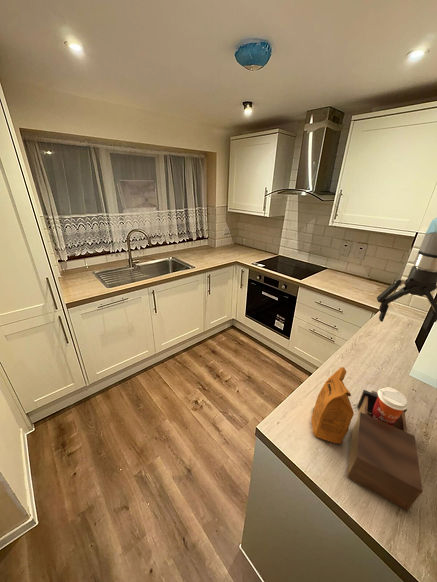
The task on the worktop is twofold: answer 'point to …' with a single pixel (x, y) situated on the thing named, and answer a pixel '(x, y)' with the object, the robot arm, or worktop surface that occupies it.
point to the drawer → (368, 404)
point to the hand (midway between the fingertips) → (402, 324)
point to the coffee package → (332, 409)
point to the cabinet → (385, 461)
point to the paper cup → (389, 405)
